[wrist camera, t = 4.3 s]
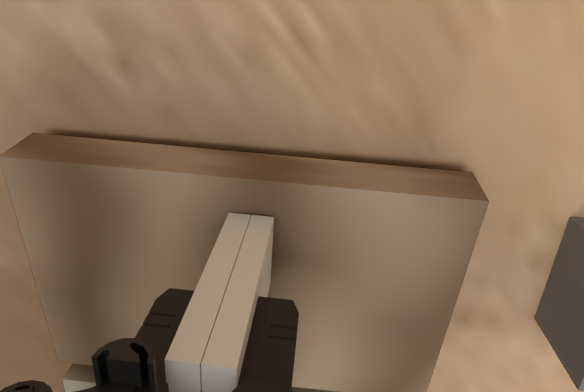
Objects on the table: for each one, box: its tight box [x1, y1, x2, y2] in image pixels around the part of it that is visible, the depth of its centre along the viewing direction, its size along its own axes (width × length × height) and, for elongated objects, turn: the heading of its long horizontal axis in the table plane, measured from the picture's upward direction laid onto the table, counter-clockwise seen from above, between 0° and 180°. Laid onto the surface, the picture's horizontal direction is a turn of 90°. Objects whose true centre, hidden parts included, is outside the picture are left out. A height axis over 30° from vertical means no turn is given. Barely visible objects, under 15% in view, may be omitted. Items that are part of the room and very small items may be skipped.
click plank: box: [0, 133, 489, 392], centre depth 18 cm, size 16×10×2 cm, turn 86°
